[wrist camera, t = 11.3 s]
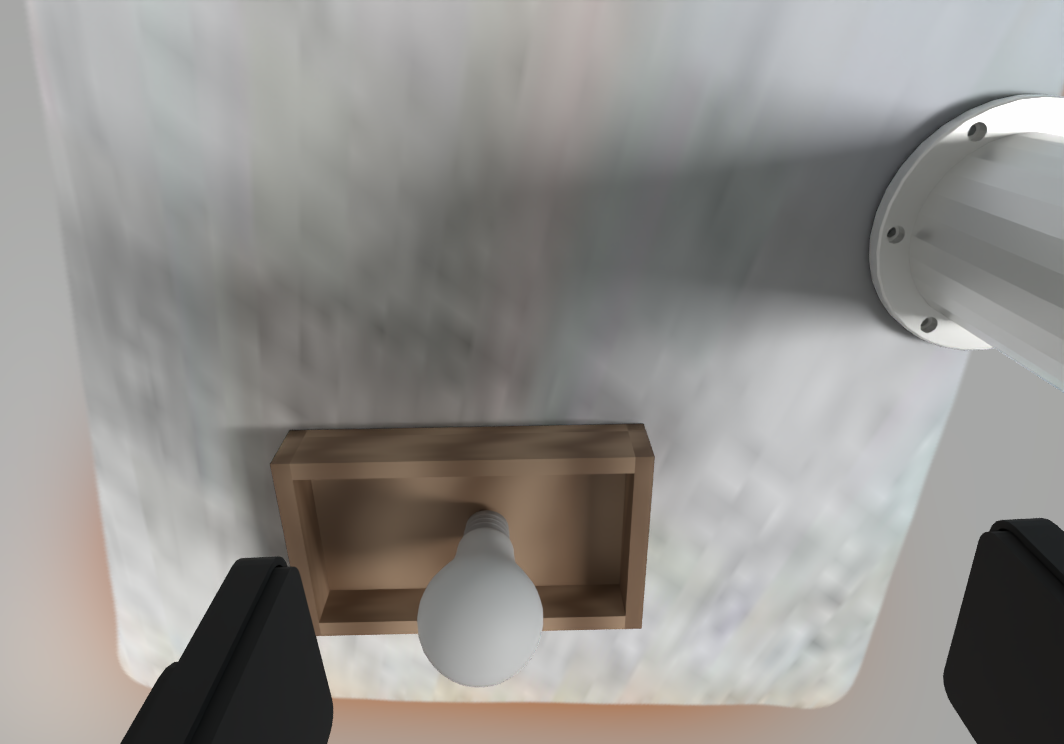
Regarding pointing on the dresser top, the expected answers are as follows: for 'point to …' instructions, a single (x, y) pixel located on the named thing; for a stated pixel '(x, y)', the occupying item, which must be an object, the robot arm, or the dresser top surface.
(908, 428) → the dresser top surface
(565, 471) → the walnut tray
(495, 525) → the lightbulb
